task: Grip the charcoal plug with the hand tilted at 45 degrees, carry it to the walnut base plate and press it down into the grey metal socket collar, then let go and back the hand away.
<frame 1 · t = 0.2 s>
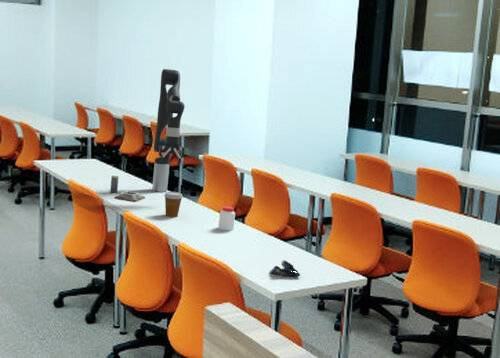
hand: (170, 164, 368), 22 cm above the table, tool pointing down, fingers open, 8 cm apart
disposable coffee cup: (171, 216, 341), on the table
pill bottle: (225, 229, 327), on the table
plug: (113, 192, 382), on the table
black spring clamp: (285, 275, 262), on the table
socket plate: (129, 198, 372), on the table
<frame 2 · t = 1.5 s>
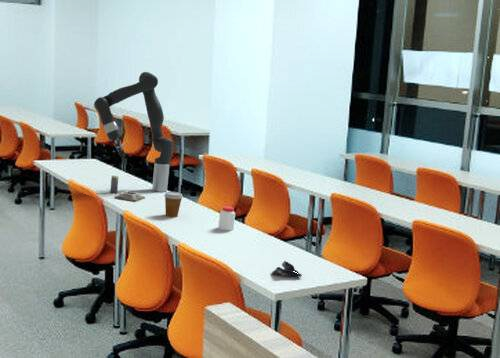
hand: (123, 156, 374), 23 cm above the table, tool tilted 30°, fingers open, 8 cm apart
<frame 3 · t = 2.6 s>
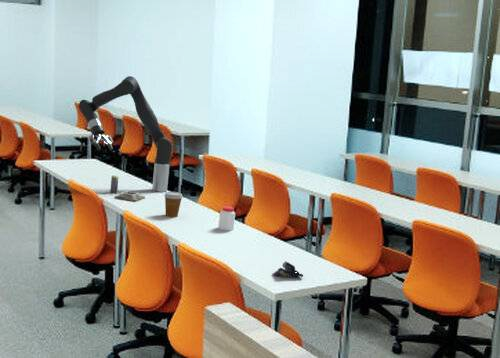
hand: (105, 149, 386), 24 cm above the table, tool tilted 45°, fingers open, 8 cm apart
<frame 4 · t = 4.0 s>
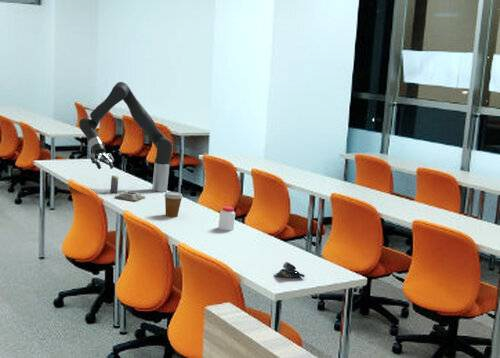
hand: (106, 168, 386), 13 cm above the table, tool tilted 45°, fingers open, 8 cm apart
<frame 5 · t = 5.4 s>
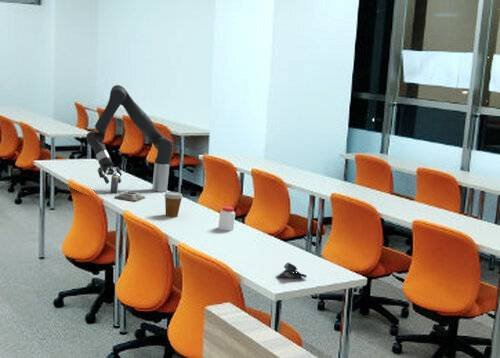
hand: (114, 182, 381), 6 cm above the table, tool tilted 45°, fingers open, 8 cm apart
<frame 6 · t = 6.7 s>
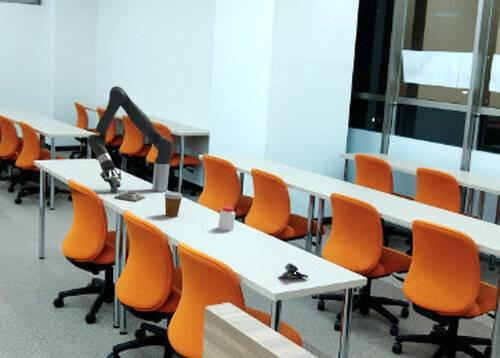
hand: (116, 186, 380), 4 cm above the table, tool tilted 45°, fingers closed on plug, 4 cm apart
plug: (113, 192, 382), on the table, touching gripper
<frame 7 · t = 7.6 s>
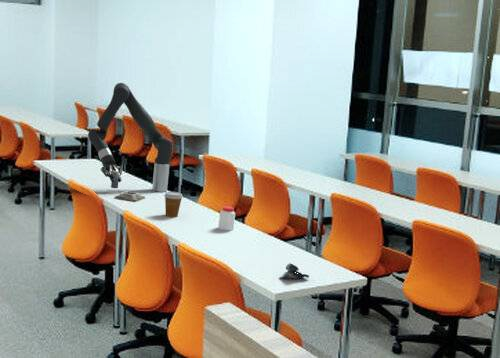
hand: (116, 181, 380), 7 cm above the table, tool tilted 45°, fingers closed on plug, 4 cm apart
plug: (114, 187, 382), point 3 cm above the table, touching gripper
when the fingers open (5 cm above the table, at t = 13.9 s): plug stays where it is, resting on socket plate.
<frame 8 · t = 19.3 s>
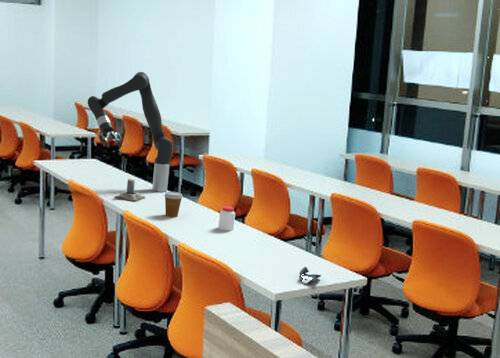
hand: (114, 147, 380), 27 cm above the table, tool tilted 45°, fingers open, 8 cm apart
plug: (129, 196, 372), point 1 cm above the table, touching socket plate
black spring clamp: (307, 281, 257), on the table
everything else where it was.
at the end: plug 0.1 cm off-centre on the socket plate, point 1.0 cm above the socket plate's base; plug tilted 0°; the gripper is holding nothing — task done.
